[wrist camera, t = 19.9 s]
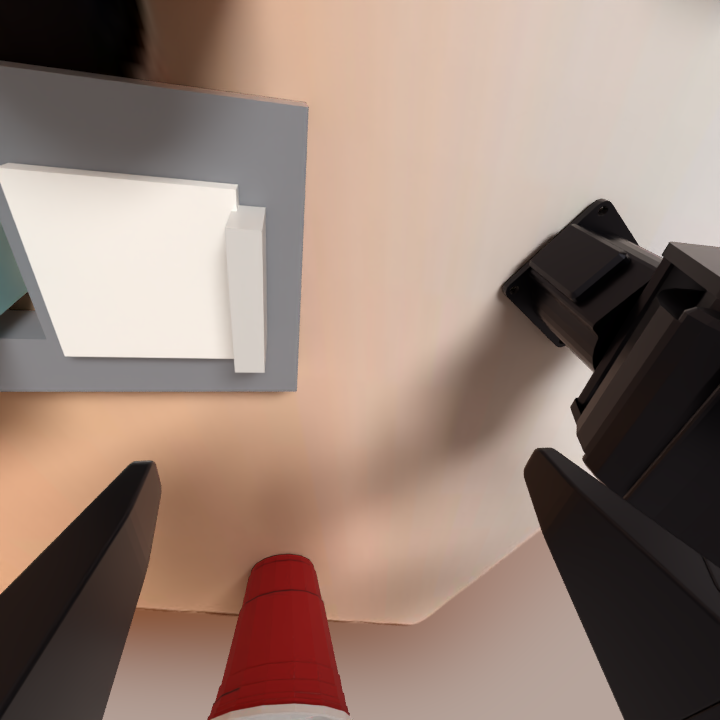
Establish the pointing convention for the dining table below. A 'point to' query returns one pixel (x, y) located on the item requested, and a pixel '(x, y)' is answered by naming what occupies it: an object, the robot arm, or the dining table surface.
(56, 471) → the dining table surface
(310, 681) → the plastic cup
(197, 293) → the panel
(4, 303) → the teal rectangular bottle
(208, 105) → the socket plate
